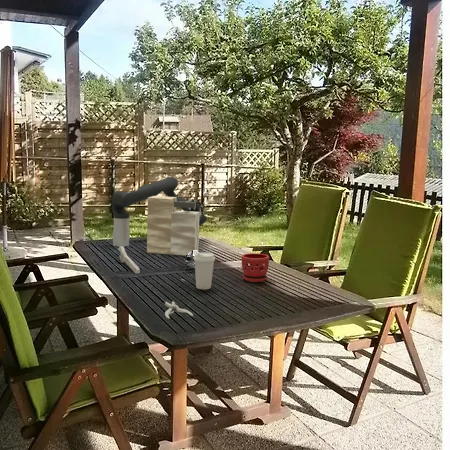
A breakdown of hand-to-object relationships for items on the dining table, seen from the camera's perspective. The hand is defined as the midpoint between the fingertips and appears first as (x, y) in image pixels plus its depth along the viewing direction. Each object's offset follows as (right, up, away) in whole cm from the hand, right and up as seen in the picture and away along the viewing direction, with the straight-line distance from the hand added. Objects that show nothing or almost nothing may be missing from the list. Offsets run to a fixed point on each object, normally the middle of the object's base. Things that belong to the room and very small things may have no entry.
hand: (189, 200), depth 279 cm
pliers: (+2, -48, -102) cm, 113 cm away
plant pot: (+35, -41, -55) cm, 78 cm away
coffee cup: (+11, -43, -71) cm, 84 cm away
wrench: (-28, -37, -41) cm, 62 cm away
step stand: (-10, -31, -4) cm, 33 cm away
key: (-1, -4, -5) cm, 6 cm away
